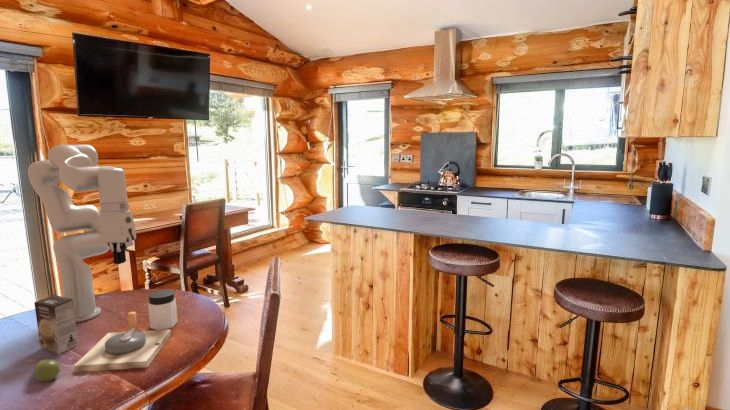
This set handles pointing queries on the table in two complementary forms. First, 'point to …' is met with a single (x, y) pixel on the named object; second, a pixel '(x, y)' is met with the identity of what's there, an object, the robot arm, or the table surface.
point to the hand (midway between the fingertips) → (120, 262)
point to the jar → (162, 309)
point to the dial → (126, 339)
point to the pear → (46, 370)
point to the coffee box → (56, 323)
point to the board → (135, 359)
